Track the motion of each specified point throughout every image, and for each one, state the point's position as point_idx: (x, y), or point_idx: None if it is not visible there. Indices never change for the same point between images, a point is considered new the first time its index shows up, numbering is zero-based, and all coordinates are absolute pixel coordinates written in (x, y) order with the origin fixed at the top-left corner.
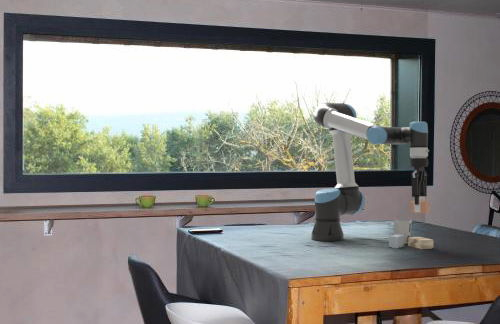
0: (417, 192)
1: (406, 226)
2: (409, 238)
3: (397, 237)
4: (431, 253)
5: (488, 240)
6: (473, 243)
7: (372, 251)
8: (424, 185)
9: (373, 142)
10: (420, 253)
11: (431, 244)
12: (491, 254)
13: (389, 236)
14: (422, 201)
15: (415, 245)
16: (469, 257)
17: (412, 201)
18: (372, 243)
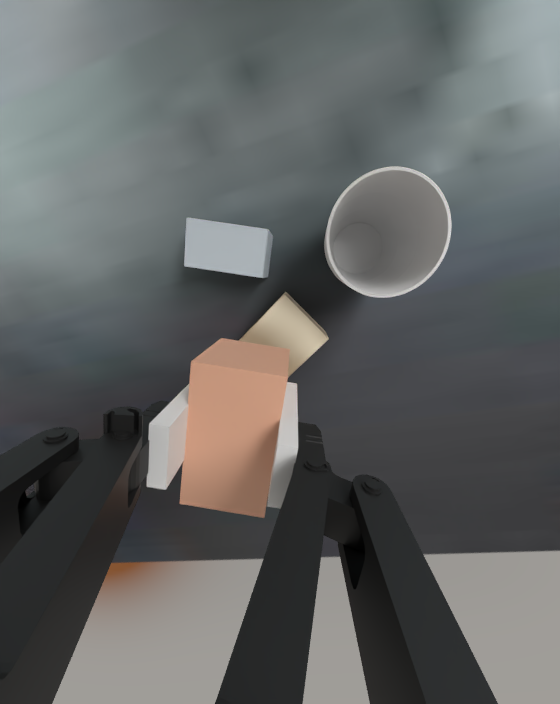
0: (24, 517)
1: (336, 275)
2: (277, 301)
3: (184, 264)
4: (148, 403)
5: (539, 532)
6: (441, 495)
7: (70, 190)
8: (370, 662)
9: None
10: (128, 370)
11: None
12: (221, 551)
13: (187, 220)
14: (196, 471)
15: (248, 330)
16: (136, 506)
17: (190, 381)
18: (291, 110)
